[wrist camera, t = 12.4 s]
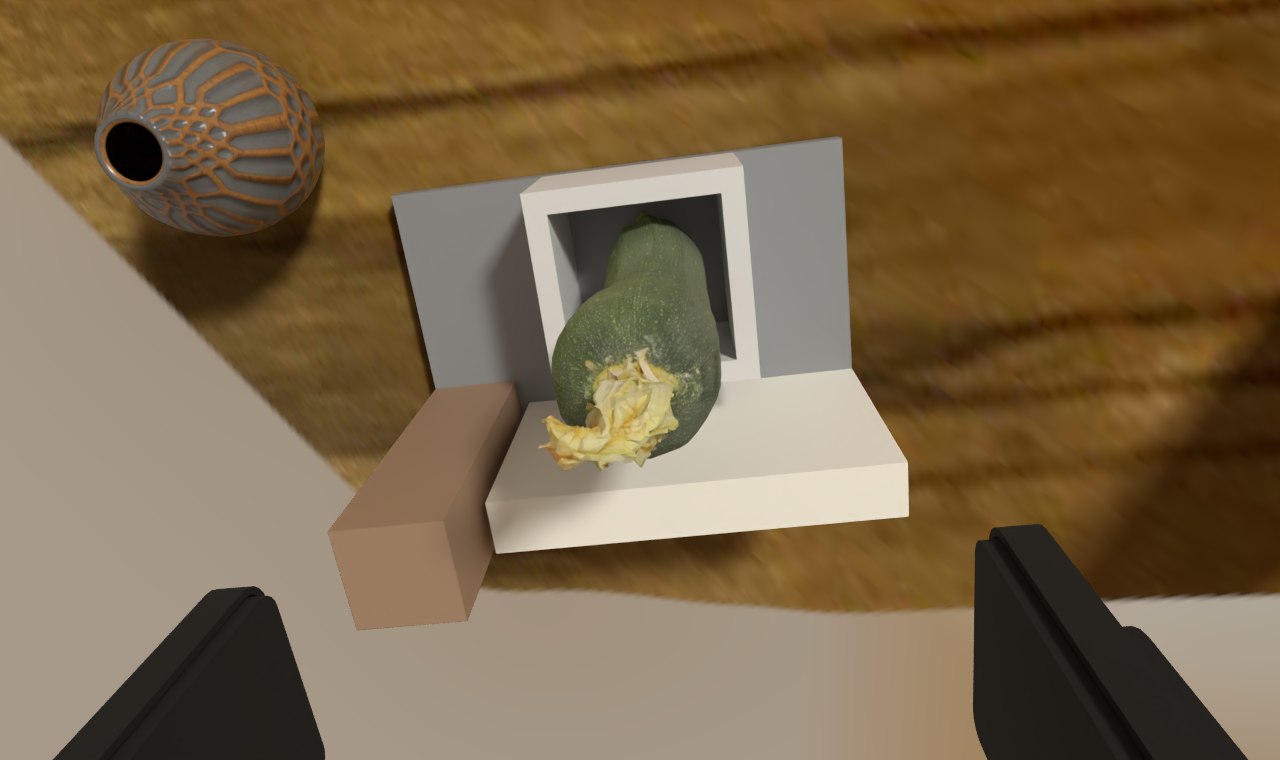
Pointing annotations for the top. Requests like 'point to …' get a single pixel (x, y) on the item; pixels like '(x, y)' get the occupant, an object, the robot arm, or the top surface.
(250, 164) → the vase
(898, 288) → the top surface
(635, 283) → the vegetable
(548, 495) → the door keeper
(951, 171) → the top surface
